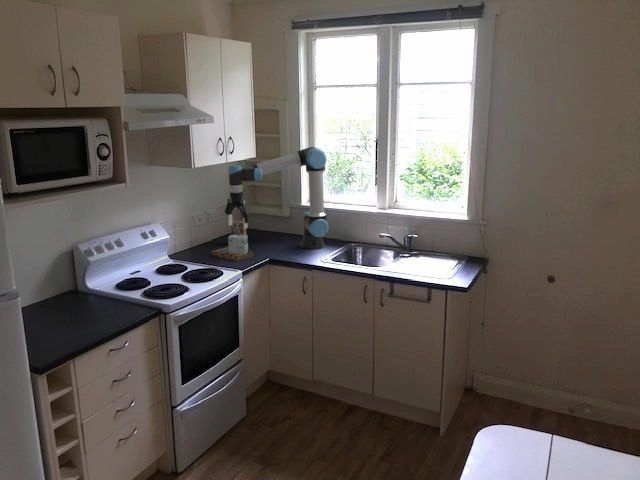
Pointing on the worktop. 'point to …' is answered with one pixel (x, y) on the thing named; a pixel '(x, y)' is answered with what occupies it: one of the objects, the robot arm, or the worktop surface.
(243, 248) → the light bulb box
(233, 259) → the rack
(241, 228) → the candy box
